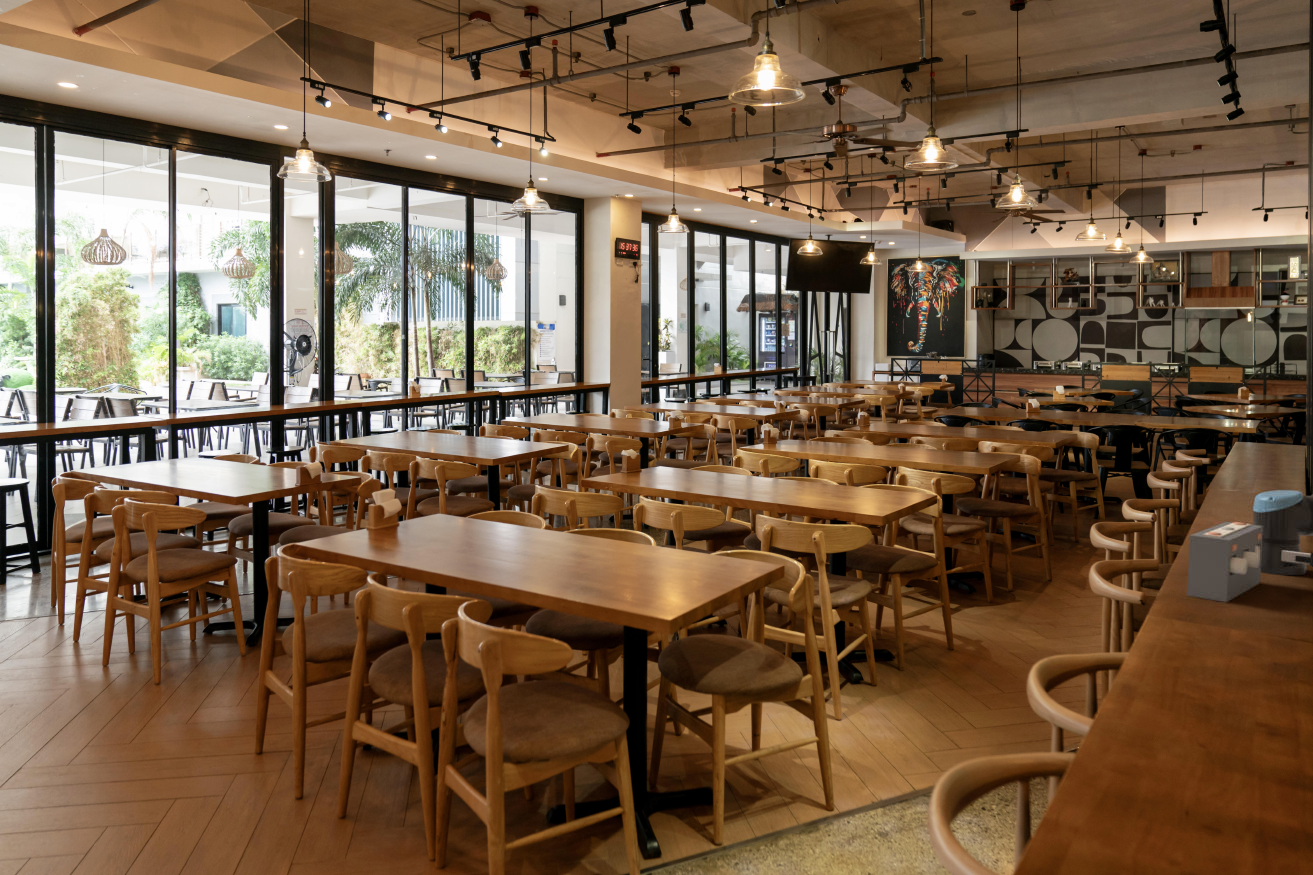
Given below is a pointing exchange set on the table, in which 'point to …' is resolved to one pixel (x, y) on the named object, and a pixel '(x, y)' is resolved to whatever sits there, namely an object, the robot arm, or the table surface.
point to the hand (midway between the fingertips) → (1282, 555)
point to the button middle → (1252, 558)
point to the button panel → (1222, 561)
